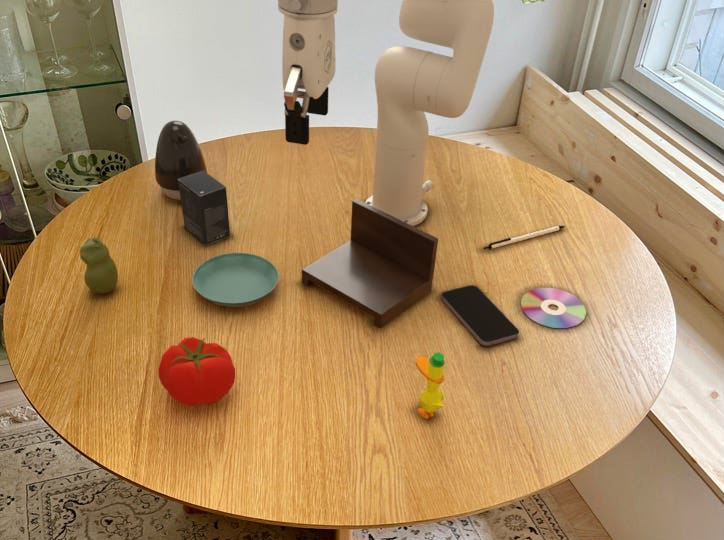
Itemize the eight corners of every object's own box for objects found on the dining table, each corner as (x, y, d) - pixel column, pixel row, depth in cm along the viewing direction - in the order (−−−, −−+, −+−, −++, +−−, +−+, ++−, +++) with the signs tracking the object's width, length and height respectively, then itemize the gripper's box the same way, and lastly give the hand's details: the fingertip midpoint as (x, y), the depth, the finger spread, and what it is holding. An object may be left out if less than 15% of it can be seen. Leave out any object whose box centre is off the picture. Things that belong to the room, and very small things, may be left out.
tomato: (241, 413, 109) (236, 370, 103) (164, 423, 107) (155, 379, 101) (233, 364, 117) (229, 321, 111) (161, 373, 115) (153, 329, 109)
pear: (109, 302, 127) (97, 253, 120) (81, 296, 128) (68, 246, 121) (126, 283, 130) (115, 234, 123) (98, 277, 131) (86, 228, 124)
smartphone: (475, 283, 133) (522, 333, 122) (474, 289, 133) (521, 338, 123) (438, 292, 130) (483, 343, 120) (438, 298, 131) (482, 349, 121)
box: (231, 236, 142) (226, 186, 134) (205, 246, 139) (199, 196, 132) (209, 218, 146) (203, 168, 139) (183, 228, 143) (176, 177, 136)
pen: (482, 249, 142) (483, 244, 141) (563, 227, 148) (564, 222, 147) (484, 251, 141) (485, 246, 140) (565, 229, 147) (567, 224, 147)
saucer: (295, 279, 133) (294, 267, 131) (248, 326, 123) (247, 313, 122) (225, 255, 138) (224, 242, 136) (176, 297, 128) (174, 285, 126)
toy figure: (402, 403, 112) (409, 342, 103) (421, 394, 113) (429, 333, 105) (429, 431, 108) (439, 371, 100) (449, 422, 109) (460, 361, 101)
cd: (555, 280, 135) (555, 280, 135) (600, 315, 128) (600, 315, 128) (507, 299, 130) (507, 299, 130) (551, 336, 124) (551, 336, 124)
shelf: (354, 250, 140) (356, 198, 132) (431, 291, 132) (438, 238, 124) (301, 283, 132) (301, 229, 124) (380, 329, 124) (384, 274, 116)
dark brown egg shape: (169, 212, 147) (158, 139, 137) (151, 187, 154) (139, 116, 143) (217, 199, 151) (210, 128, 140) (198, 176, 157) (189, 106, 147)
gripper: (317, 23, 88) (316, 159, 99) (353, -19, 100) (348, 106, 112) (256, 15, 89) (262, 150, 101) (299, -26, 101) (299, 99, 113)
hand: (307, 127), depth 106 cm, fingers open, 9 cm apart
